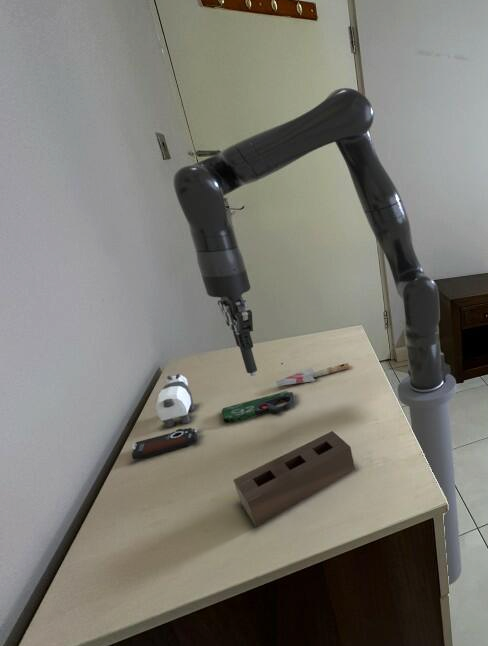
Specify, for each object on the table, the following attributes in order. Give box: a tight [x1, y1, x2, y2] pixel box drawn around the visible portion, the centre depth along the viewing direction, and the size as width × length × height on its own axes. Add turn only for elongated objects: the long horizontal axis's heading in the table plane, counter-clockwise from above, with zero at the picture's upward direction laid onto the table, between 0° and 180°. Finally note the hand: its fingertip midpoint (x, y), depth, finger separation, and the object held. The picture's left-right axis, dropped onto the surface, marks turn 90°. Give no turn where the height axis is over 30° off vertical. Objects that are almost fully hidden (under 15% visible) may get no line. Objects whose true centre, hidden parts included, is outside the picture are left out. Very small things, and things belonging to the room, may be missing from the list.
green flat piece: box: [221, 390, 296, 424], centre depth 104 cm, size 16×1×10 cm
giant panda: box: [155, 373, 196, 428], centre depth 102 cm, size 15×6×10 cm, turn 29°
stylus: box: [234, 326, 258, 377], centre depth 87 cm, size 2×2×12 cm
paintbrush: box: [275, 362, 350, 387], centre depth 119 cm, size 4×3×20 cm
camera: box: [131, 427, 198, 460], centre depth 91 cm, size 6×3×11 cm
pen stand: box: [232, 430, 356, 528], centre depth 79 cm, size 8×19×6 cm, turn 139°
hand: (245, 346), depth 87 cm, fingers closed on stylus, 2 cm apart
